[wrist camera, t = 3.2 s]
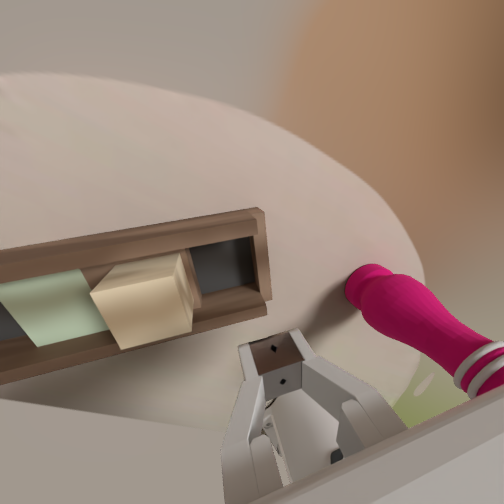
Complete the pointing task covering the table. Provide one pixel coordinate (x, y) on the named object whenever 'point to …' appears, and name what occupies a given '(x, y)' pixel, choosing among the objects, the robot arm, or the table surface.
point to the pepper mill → (426, 327)
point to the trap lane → (101, 263)
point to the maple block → (145, 300)
